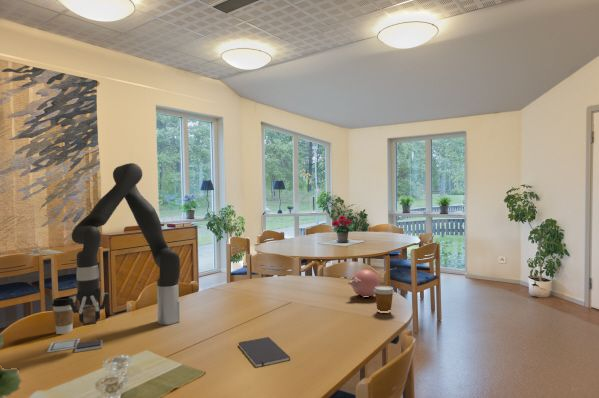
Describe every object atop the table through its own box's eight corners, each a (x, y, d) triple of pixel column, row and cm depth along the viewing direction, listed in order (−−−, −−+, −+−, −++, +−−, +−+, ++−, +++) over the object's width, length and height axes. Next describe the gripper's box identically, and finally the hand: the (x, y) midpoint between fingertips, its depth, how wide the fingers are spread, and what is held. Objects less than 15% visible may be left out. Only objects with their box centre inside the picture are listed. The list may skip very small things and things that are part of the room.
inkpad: (102, 342, 153) (102, 338, 153) (101, 348, 147) (101, 344, 147) (76, 346, 149) (76, 342, 149) (74, 352, 144) (74, 348, 144)
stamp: (96, 320, 151) (96, 304, 151) (96, 323, 147) (95, 307, 147) (84, 322, 149) (83, 306, 149) (83, 325, 145) (82, 309, 145)
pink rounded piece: (339, 297, 215) (339, 269, 215) (367, 292, 225) (367, 266, 224) (356, 303, 202) (356, 274, 201) (385, 298, 211) (385, 270, 211)
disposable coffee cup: (392, 309, 192) (392, 285, 191) (395, 315, 182) (395, 290, 182) (373, 309, 193) (373, 285, 192) (375, 315, 183) (374, 290, 183)
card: (80, 339, 157) (80, 338, 157) (77, 348, 148) (77, 347, 148) (51, 343, 152) (51, 342, 152) (46, 352, 143) (46, 351, 143)
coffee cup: (49, 336, 159) (48, 301, 159) (56, 329, 168) (55, 295, 167) (72, 334, 162) (71, 299, 161) (78, 327, 170) (77, 294, 169)
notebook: (290, 361, 135) (268, 340, 154) (290, 357, 135) (268, 336, 154) (256, 369, 130) (237, 346, 149) (256, 364, 130) (237, 342, 149)
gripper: (108, 273, 154) (110, 315, 155) (67, 277, 148) (69, 321, 148) (108, 277, 147) (110, 321, 148) (65, 282, 141) (67, 327, 142)
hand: (89, 321), depth 148 cm, fingers closed on stamp, 4 cm apart
